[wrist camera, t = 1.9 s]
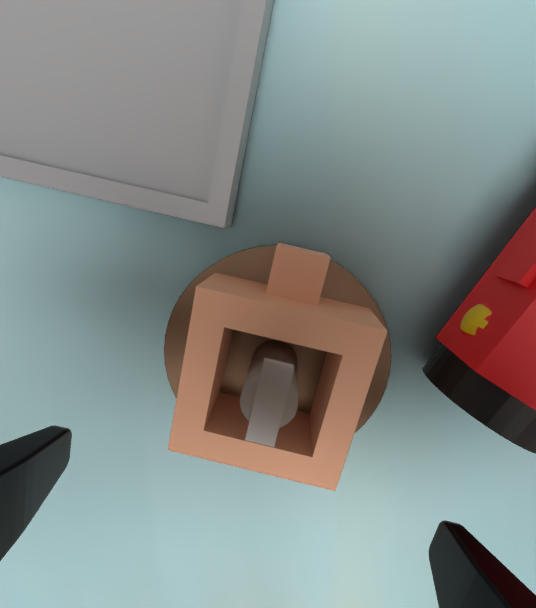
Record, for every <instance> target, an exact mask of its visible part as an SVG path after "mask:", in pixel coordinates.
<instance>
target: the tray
mask: <svg viewBox="0 0 536 608" xmlns="http://www.w3.org/2000/svg"><path fill="white" fill-rule="evenodd" d="M273 3H274V0H0V177H5V178H9V179H13V180H18V181H22V182H26V183H31V184H35V185H39V186H44V187H48V188H52V189H57V190H61V191H65V192H70V193H74V194H78V195H83V196H87V197H91V198H96V199H100V200H104V201H109V202H113V203H117V204H122V205H126V206H130V207H135V208H139V209H143V210H148V211H152V212H156V213H161V214H165V215H169V216H174V217H178V218H182V219H187V220H191V221H195V222H199V223H204V224H208V225H212V226H217V227H221V228H228V227H231V224H232V218H233V213H234V208H235V203H236V197H237V192H238V187H239V182H240V176H241V171H242V166H243V160H244V155H245V150H246V145H247V139H248V134H249V129H250V124H251V118H252V113H253V108H254V103H255V97H256V92H257V87H258V82H259V76H260V71H261V66H262V61H263V55H264V50H265V45H266V39H267V34H268V29H269V24H270V18H271V13H272V8H273Z"/></svg>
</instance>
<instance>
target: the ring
mask: <svg viewBox="0 0 536 608" xmlns="http://www.w3.org/2000/svg"><path fill="white" fill-rule="evenodd" d="M329 262H330V257H329V256H328V254H327V253H323V252H318V251H314V250H310V249H305V248H301V247H297V246H292V245H288V244H284V243H278V244H277V246H276V250H275V255H274V259H273V263H272V268H271V272H270V277H269V281H268V284H263V283H259V282H255V281H251V280H246V279H242V278H238V277H233V276H229V275H225V274H221V273H216V272H215V273H214V274H213V275H211V276H210V277H208V278H207V279H206V280H204V281H203V282H201V283H200V284H199V285H197V286H196V290H195V296H194V301H193V307H192V313H191V319H190V325H189V330H188V336H187V342H186V348H185V354H184V359H183V365H182V371H181V377H180V383H179V388H178V394H177V400H176V406H175V412H174V417H173V423H172V429H171V435H170V441H169V446H168V450H170V451H174V452H178V453H182V454H187V455H191V456H195V457H199V458H203V459H207V460H211V461H215V462H219V463H223V464H227V465H231V466H235V467H239V468H244V469H248V470H252V471H256V472H260V473H264V474H268V475H272V476H276V477H280V478H284V479H288V480H292V481H296V482H301V483H305V484H309V485H313V486H317V487H321V488H325V489H329V490H333V491H336V487H337V484H338V481H339V478H340V475H341V472H342V469H343V466H344V463H345V460H346V457H347V454H348V451H349V448H350V445H351V442H352V439H353V435H354V432H355V429H356V426H357V423H358V420H359V417H360V414H361V411H362V408H363V405H364V402H365V399H366V396H367V393H368V390H369V386H370V383H371V380H372V377H373V374H374V371H375V368H376V365H377V362H378V359H379V356H380V353H381V350H382V347H383V344H384V341H385V337H386V334H387V330H386V329H385V327H384V326H383V325H382V323H381V322H380V321H379V320H378V318H377V317H376V316H375V315H374V313H373V312H372V311H371V309H370V308H366V307H362V306H357V305H353V304H349V303H345V302H340V301H336V300H332V299H328V298H323V297H320V295H321V292H322V288H323V284H324V281H325V277H326V273H327V269H328V266H329ZM233 329H234V330H238V331H242V332H246V333H250V334H255V335H259V336H263V337H267V338H271V339H276V340H280V341H284V342H288V343H293V344H297V345H301V346H305V347H309V348H314V349H318V350H322V351H326V352H327V354H326V358H325V361H324V365H323V368H322V372H321V375H320V379H319V382H318V386H317V390H316V393H315V397H314V400H313V404H312V407H311V411H310V414H308V413H304V412H300V411H297V412H296V414H295V416H294V418H293V419H292V420H291V421H290V422H289V423H288V424H286V425H285V426H282V427H280V428H279V430H278V434H277V438H276V442H275V446H274V447H271V446H267V445H263V444H259V443H255V442H251V441H246V440H245V438H246V434H247V430H248V425H249V421H248V420H247V419H246V417H245V416H244V415H243V413H242V411H241V407H240V397H238V396H234V395H230V394H225V393H221V392H220V390H221V385H222V380H223V375H224V371H225V366H226V361H227V356H228V351H229V346H230V342H231V337H232V332H233Z"/></svg>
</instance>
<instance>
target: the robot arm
mask: <svg viewBox="0 0 536 608" xmlns="http://www.w3.org/2000/svg"><path fill="white" fill-rule="evenodd" d="M71 437H72V433H71V430H70V429H68V428H64V427H60V426H50V427H47V428H45V429H42V430H39V431H36V432H34V433H31V434H28V435H26V436H23V437H20V438H17V439H15V440H12V441H9V442H7V443H4V444H1V445H0V561H1V560H2V558H3V557H4V556H5V554H6V553H7V552H8V551H9V549H10V548H11V547H12V546H13V544H14V543H15V542H16V541H17V539H18V538H19V537H20V535H21V534H22V533H23V531H24V530H25V529H26V527H27V526H28V524H29V523H30V521H31V520H32V518H33V517H34V515H35V514H36V512H37V511H38V509H39V508H40V506H41V505H42V503H43V502H44V500H45V499H46V497H47V496H48V494H49V493H50V491H51V490H52V488H53V487H54V485H55V484H56V482H57V481H58V479H59V478H60V476H61V474H62V473H63V471H64V470H65V468H66V466H67V464H68V462H69V458H70V448H71ZM429 560H430V565H431V570H432V575H433V580H434V585H435V590H436V595H437V600H438V605H439V608H536V595H535V594H534V593H533V592H532V591H531V590H529V589H528V588H527V587H526V586H525V585H524V584H523V583H522V582H521V581H520V580H519V579H518V578H517V577H516V576H515V575H514V574H513V573H512V572H510V571H509V570H508V569H507V568H506V567H505V566H504V565H503V564H502V563H501V562H500V561H499V560H498V559H497V558H496V557H495V556H494V555H493V554H492V553H490V552H489V551H488V550H487V549H486V548H485V547H484V546H483V545H482V544H481V543H480V542H479V541H478V540H477V539H476V538H475V537H474V536H473V535H472V534H470V533H469V532H468V531H467V530H466V529H465V528H464V527H463V526H462V525H460V524H458V523H453V522H449V521H442V522H441V523H440V524H439V526H438V528H437V530H436V533H435V535H434V537H433V540H432V542H431V544H430V547H429Z"/></svg>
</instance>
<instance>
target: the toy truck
mask: <svg viewBox="0 0 536 608" xmlns="http://www.w3.org/2000/svg"><path fill="white" fill-rule="evenodd" d="M435 338H436V339H438V340H439V341H440V342H441V345H440V346H439V347H438V349H437V350H436V351H435V353H434V354H433V355H432V357H431V358H430V359H429V361H428V362H427V363H426V365H425V366H424V368H423V372H424V373H425V375H426V376H427V378H428V379H429V380H430V381H431V382H432V383H433V384H434V385H435V386H436V387H437V388H438V389H439V390H440V391H441V392H442V393H444V394H445V395H446V396H447V397H448V398H449V399H451V400H452V401H453V402H454V403H456V404H457V405H458V406H459V407H461V408H462V409H463V410H465V411H466V412H467V413H469V414H470V415H471V416H473V417H474V418H475V419H477V420H478V421H480V422H481V423H483V424H484V425H485V426H487V427H488V428H490V429H491V430H493V431H495V432H496V433H498V434H499V435H501V436H502V437H504V438H506V439H507V440H509V441H511V442H513V443H514V444H516V445H518V446H520V447H522V448H524V449H526V450H528V451H531V452H533V453H536V207H535V209H534V210H533V211H532V212H531V214H530V215H529V216H528V218H527V219H526V220H525V222H524V223H523V224H522V225H521V227H520V228H519V229H518V231H517V232H516V233H515V235H514V236H513V237H512V238H511V240H510V241H509V242H508V244H507V245H506V246H505V248H504V249H503V250H502V251H501V253H500V254H499V255H498V257H497V258H496V259H495V261H494V262H493V263H492V265H491V266H490V267H489V268H488V270H487V271H486V272H485V274H484V275H483V276H482V278H481V279H480V280H479V281H478V283H477V284H476V285H475V287H474V288H473V289H472V291H471V292H470V293H469V294H468V296H467V297H466V298H465V300H464V301H463V302H462V304H461V305H460V306H459V307H458V309H457V310H456V311H455V313H454V314H453V315H452V317H451V318H450V319H449V320H448V322H447V323H446V324H445V326H444V327H443V328H442V330H441V331H440V332H439V333H438V335H437V336H436V337H435Z"/></svg>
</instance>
